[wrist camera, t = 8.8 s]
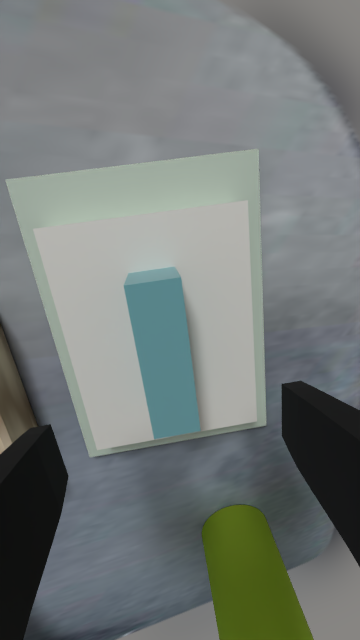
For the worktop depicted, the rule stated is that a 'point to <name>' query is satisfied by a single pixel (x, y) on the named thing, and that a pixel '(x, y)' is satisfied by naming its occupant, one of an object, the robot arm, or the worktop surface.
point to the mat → (134, 199)
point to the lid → (157, 319)
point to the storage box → (12, 399)
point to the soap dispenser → (250, 579)
